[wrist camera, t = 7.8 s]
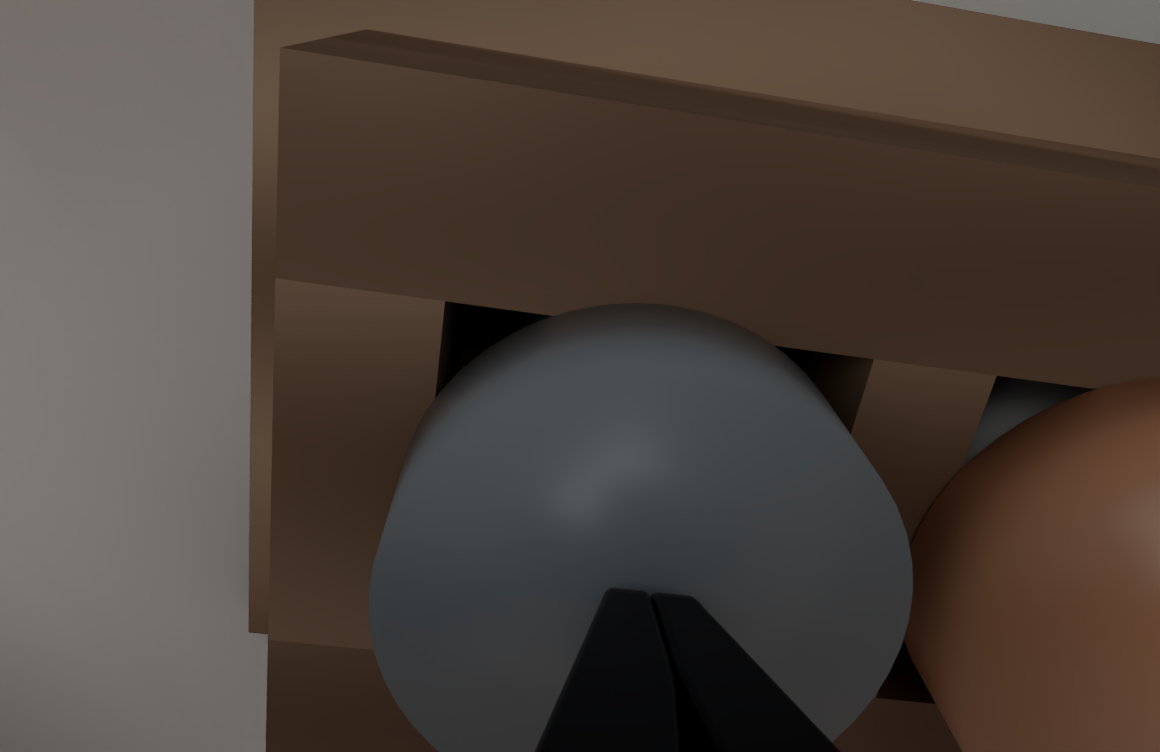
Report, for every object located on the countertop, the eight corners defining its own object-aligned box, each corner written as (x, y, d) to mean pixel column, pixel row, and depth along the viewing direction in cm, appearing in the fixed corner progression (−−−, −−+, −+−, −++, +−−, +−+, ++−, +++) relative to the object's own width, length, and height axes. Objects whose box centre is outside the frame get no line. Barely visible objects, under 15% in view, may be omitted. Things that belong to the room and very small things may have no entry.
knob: (734, 552, 15) (829, 832, 10) (419, 517, 14) (353, 794, 9) (816, 249, 12) (990, 412, 8) (451, 196, 12) (388, 334, 7)
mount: (1366, 720, 19) (1627, 952, 14) (258, 610, 16) (150, 844, 12) (1747, 151, 14) (2321, 227, 9) (269, -111, 12) (97, -174, 7)
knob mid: (1072, 590, 15) (1323, 873, 10) (781, 557, 15) (899, 838, 10) (1204, 306, 13) (1593, 491, 8) (870, 258, 13) (1076, 423, 8)
